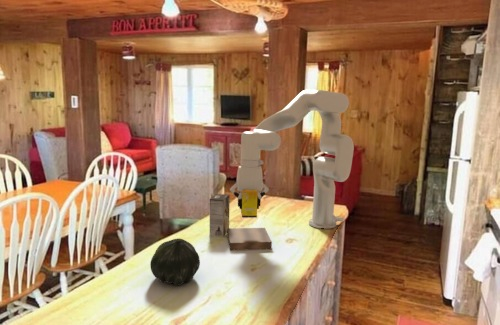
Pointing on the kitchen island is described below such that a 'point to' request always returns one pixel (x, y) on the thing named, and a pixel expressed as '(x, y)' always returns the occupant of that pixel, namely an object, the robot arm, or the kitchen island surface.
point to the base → (248, 239)
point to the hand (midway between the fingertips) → (248, 207)
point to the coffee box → (219, 215)
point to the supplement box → (249, 203)
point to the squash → (175, 262)
